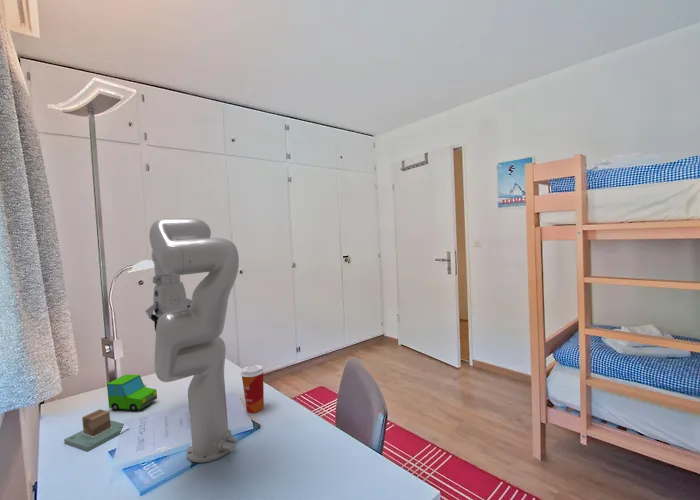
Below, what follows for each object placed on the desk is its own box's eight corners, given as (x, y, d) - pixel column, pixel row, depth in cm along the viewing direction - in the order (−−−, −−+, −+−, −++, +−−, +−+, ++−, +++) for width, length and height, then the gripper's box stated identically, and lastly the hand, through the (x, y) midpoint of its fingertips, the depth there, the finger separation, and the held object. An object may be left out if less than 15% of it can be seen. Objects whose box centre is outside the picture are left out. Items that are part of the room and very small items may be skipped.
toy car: (139, 414, 120) (136, 385, 119) (106, 412, 122) (104, 385, 122) (160, 400, 130) (158, 373, 129) (130, 399, 132) (128, 373, 132)
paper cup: (243, 406, 121) (240, 366, 120) (265, 401, 123) (262, 362, 122) (243, 417, 113) (240, 374, 113) (267, 411, 116) (264, 370, 115)
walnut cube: (110, 427, 108) (109, 411, 108) (93, 436, 104) (91, 419, 104) (101, 424, 111) (99, 409, 110) (83, 433, 106) (82, 417, 106)
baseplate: (129, 428, 110) (129, 423, 110) (88, 451, 99) (87, 445, 99) (106, 422, 115) (105, 417, 115) (64, 443, 104) (63, 437, 104)
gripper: (152, 283, 111) (156, 336, 112) (196, 276, 126) (200, 322, 127) (136, 283, 114) (141, 335, 115) (181, 276, 130) (185, 321, 130)
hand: (172, 328), depth 121 cm, fingers open, 9 cm apart
